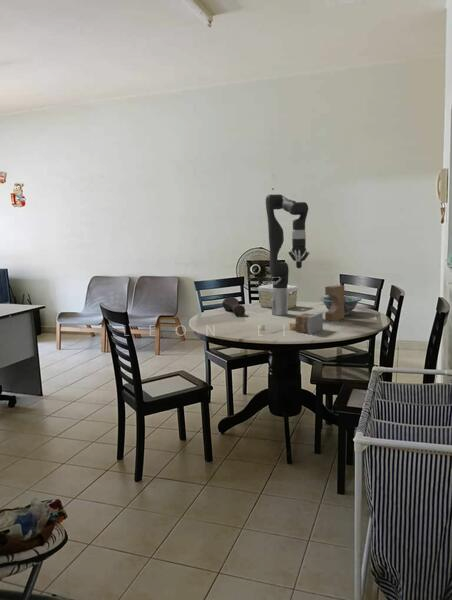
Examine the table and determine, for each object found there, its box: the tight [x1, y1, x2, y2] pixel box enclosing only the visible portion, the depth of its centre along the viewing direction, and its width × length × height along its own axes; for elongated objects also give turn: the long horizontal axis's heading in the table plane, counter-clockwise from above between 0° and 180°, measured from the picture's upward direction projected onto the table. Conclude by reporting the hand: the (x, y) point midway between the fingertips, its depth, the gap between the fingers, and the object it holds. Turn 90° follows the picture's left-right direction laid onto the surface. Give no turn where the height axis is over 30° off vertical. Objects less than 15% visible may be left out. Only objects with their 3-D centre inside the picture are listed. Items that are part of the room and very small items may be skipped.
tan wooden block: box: [289, 321, 297, 332], centre depth 259 cm, size 10×4×4 cm, turn 53°
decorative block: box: [324, 284, 345, 322], centre depth 282 cm, size 11×6×20 cm, turn 124°
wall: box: [306, 312, 324, 335], centre depth 254 cm, size 2×14×9 cm, turn 144°
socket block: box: [294, 312, 315, 333], centre depth 257 cm, size 8×10×8 cm
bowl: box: [320, 295, 362, 316], centre depth 302 cm, size 25×25×10 cm
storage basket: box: [257, 283, 299, 309], centre depth 333 cm, size 24×16×15 cm
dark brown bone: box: [221, 296, 246, 317], centre depth 317 cm, size 11×10×28 cm
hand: (299, 268), depth 276 cm, fingers closed
